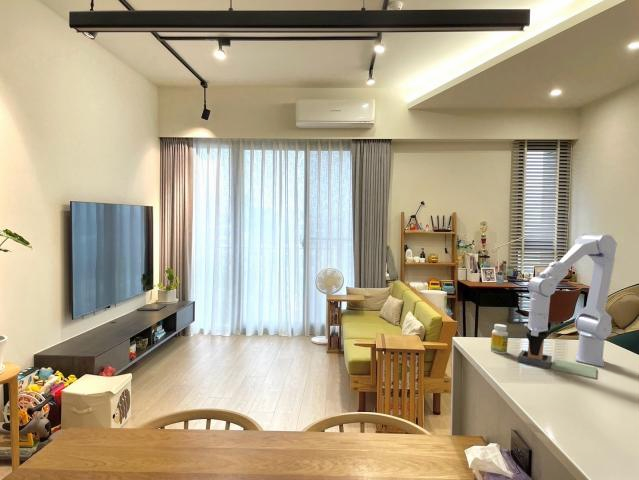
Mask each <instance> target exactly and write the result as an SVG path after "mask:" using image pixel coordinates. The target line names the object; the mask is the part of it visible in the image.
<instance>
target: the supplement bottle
mask: <svg viewBox="0 0 639 480" xmlns="http://www.w3.org/2000/svg"><path fill="white" fill-rule="evenodd" d="M493 326H494V327H493V330H492V331H491V340H490V351H491V352H492V353H495V354H498V355H499V354H500V355H502V354H504V355H505V354H507V353H508V344H509V343H508V341H509V333H508V331H507V329H508V328H507V327H508V326H507V325H505V324H500V323H495V324H494V325H493Z"/></svg>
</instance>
